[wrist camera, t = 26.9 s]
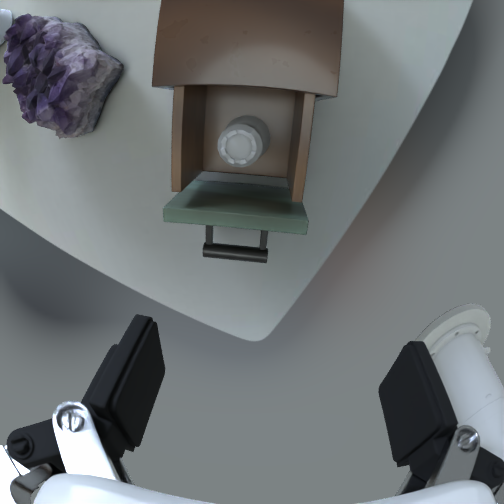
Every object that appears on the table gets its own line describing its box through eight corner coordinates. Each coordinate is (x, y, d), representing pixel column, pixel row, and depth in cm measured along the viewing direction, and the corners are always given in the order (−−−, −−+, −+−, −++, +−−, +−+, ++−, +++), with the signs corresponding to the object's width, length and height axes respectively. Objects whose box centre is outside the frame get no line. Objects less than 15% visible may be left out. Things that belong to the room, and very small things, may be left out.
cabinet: (313, 101, 25) (337, 97, 16) (191, 93, 26) (151, 86, 16) (322, -15, 18) (343, -61, 9) (203, -22, 19) (175, -66, 9)
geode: (17, 69, 22) (-29, 63, 13) (68, 6, 20) (28, -16, 10) (80, 154, 28) (28, 164, 19) (144, 83, 26) (104, 63, 16)
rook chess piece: (243, 106, 24) (233, 103, 17) (280, 134, 25) (284, 143, 18) (215, 141, 26) (194, 152, 19) (250, 168, 27) (243, 190, 20)
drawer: (291, 239, 32) (297, 284, 24) (191, 230, 32) (166, 271, 24) (311, 74, 23) (329, 59, 15) (196, 67, 23) (166, 51, 16)
